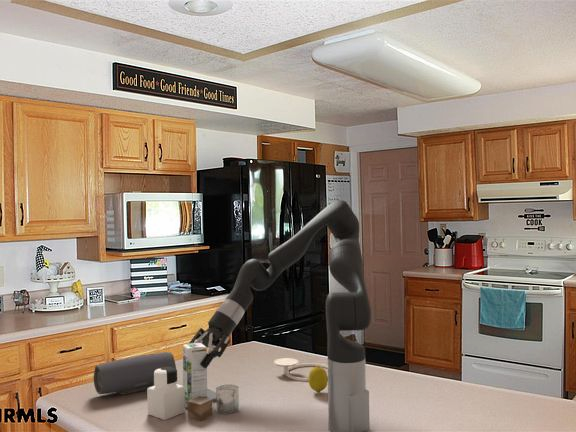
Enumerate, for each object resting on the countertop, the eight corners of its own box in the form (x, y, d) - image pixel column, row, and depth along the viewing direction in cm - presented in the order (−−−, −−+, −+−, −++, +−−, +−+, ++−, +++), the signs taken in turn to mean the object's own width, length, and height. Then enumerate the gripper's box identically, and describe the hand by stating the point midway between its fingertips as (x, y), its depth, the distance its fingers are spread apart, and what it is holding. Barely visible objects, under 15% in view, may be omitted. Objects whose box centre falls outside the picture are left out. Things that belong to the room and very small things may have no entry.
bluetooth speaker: (165, 378, 176) (164, 347, 176) (177, 385, 169) (176, 353, 168) (93, 394, 163) (92, 360, 162) (103, 402, 155) (102, 367, 155)
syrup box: (182, 394, 158) (181, 344, 158) (202, 390, 161) (201, 341, 161) (188, 400, 153) (187, 348, 153) (208, 396, 156) (207, 346, 156)
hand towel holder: (339, 368, 170) (273, 369, 170) (339, 382, 170) (273, 384, 170) (333, 353, 187) (273, 354, 186) (333, 365, 187) (273, 367, 187)
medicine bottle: (168, 406, 151) (167, 363, 151) (185, 412, 147) (184, 367, 146) (147, 414, 146) (146, 369, 145) (164, 420, 141) (163, 374, 141)
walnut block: (212, 416, 144) (212, 399, 144) (200, 421, 140) (200, 404, 140) (199, 412, 146) (199, 396, 146) (187, 418, 143) (187, 401, 143)
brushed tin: (243, 410, 147) (242, 388, 147) (224, 416, 143) (224, 393, 143) (230, 404, 152) (230, 383, 152) (212, 409, 148) (211, 387, 148)
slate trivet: (223, 398, 156) (223, 395, 156) (186, 409, 149) (186, 406, 149) (201, 388, 165) (201, 385, 165) (165, 398, 158) (165, 395, 158)
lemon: (326, 396, 156) (326, 368, 156) (307, 395, 158) (307, 368, 157) (329, 390, 162) (328, 363, 162) (310, 389, 163) (310, 362, 163)
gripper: (248, 328, 161) (216, 376, 153) (221, 321, 172) (190, 365, 164) (232, 313, 157) (199, 361, 150) (206, 307, 168) (173, 351, 161)
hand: (194, 363), depth 157 cm, fingers open, 8 cm apart
